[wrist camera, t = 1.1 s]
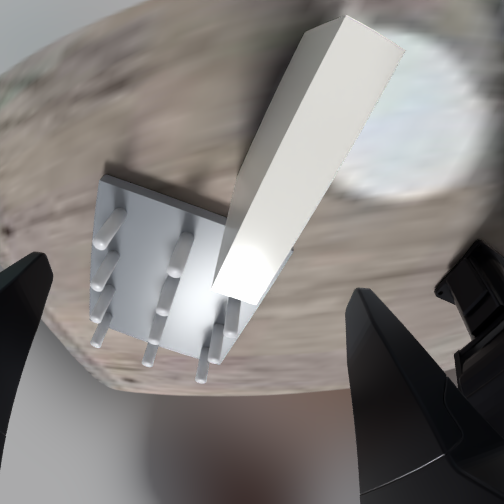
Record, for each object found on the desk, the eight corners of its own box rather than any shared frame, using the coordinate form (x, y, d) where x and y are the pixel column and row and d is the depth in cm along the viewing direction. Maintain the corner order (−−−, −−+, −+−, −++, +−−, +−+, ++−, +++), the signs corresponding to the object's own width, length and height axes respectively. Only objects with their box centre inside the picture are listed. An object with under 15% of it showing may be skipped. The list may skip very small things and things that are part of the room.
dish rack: (292, 242, 22) (296, 287, 19) (220, 357, 31) (215, 394, 28) (105, 174, 19) (73, 206, 16) (93, 312, 29) (76, 347, 25)
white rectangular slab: (334, 46, 14) (405, 50, 6) (263, 187, 20) (255, 304, 12) (305, 32, 14) (346, 14, 6) (236, 177, 19) (210, 290, 12)
